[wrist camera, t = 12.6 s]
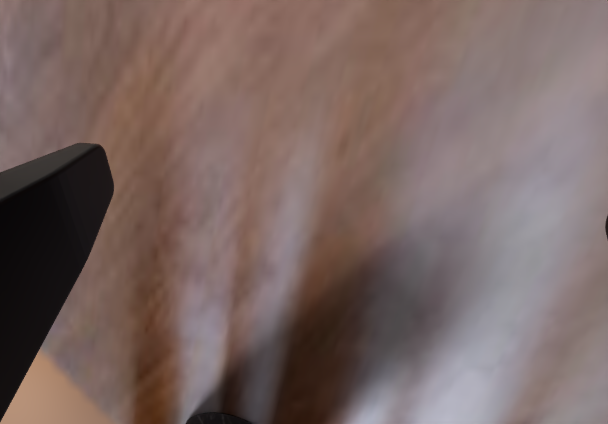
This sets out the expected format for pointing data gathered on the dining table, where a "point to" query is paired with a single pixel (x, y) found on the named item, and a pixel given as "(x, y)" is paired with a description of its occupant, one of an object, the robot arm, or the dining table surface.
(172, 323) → the dining table surface
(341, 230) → the dining table surface
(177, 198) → the dining table surface
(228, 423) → the travel mug
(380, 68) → the dining table surface
